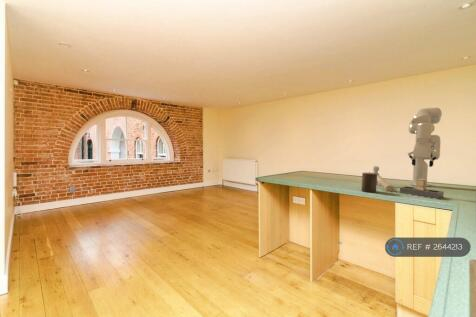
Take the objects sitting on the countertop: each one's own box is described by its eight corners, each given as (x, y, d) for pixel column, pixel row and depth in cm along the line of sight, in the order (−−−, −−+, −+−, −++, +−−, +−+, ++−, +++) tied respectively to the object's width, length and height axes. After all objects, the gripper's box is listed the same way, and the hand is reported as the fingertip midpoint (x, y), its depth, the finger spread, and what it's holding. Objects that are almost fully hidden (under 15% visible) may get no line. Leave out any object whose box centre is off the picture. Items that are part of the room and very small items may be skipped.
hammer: (394, 179, 170) (378, 165, 198) (387, 178, 170) (372, 165, 199) (391, 198, 174) (375, 182, 202) (384, 198, 175) (370, 182, 203)
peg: (418, 192, 163) (419, 178, 162) (425, 193, 159) (426, 179, 159) (415, 193, 161) (416, 179, 160) (422, 194, 157) (423, 180, 157)
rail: (405, 191, 172) (405, 186, 172) (443, 197, 153) (443, 191, 153) (399, 192, 167) (399, 187, 167) (438, 199, 148) (438, 193, 148)
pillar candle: (367, 193, 167) (369, 172, 166) (358, 190, 177) (359, 170, 176) (379, 192, 169) (380, 172, 168) (369, 189, 179) (370, 170, 178)
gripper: (441, 141, 152) (440, 166, 154) (411, 141, 167) (410, 164, 168) (437, 141, 148) (435, 167, 150) (406, 141, 163) (405, 165, 164)
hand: (422, 165), depth 159 cm, fingers open, 9 cm apart
